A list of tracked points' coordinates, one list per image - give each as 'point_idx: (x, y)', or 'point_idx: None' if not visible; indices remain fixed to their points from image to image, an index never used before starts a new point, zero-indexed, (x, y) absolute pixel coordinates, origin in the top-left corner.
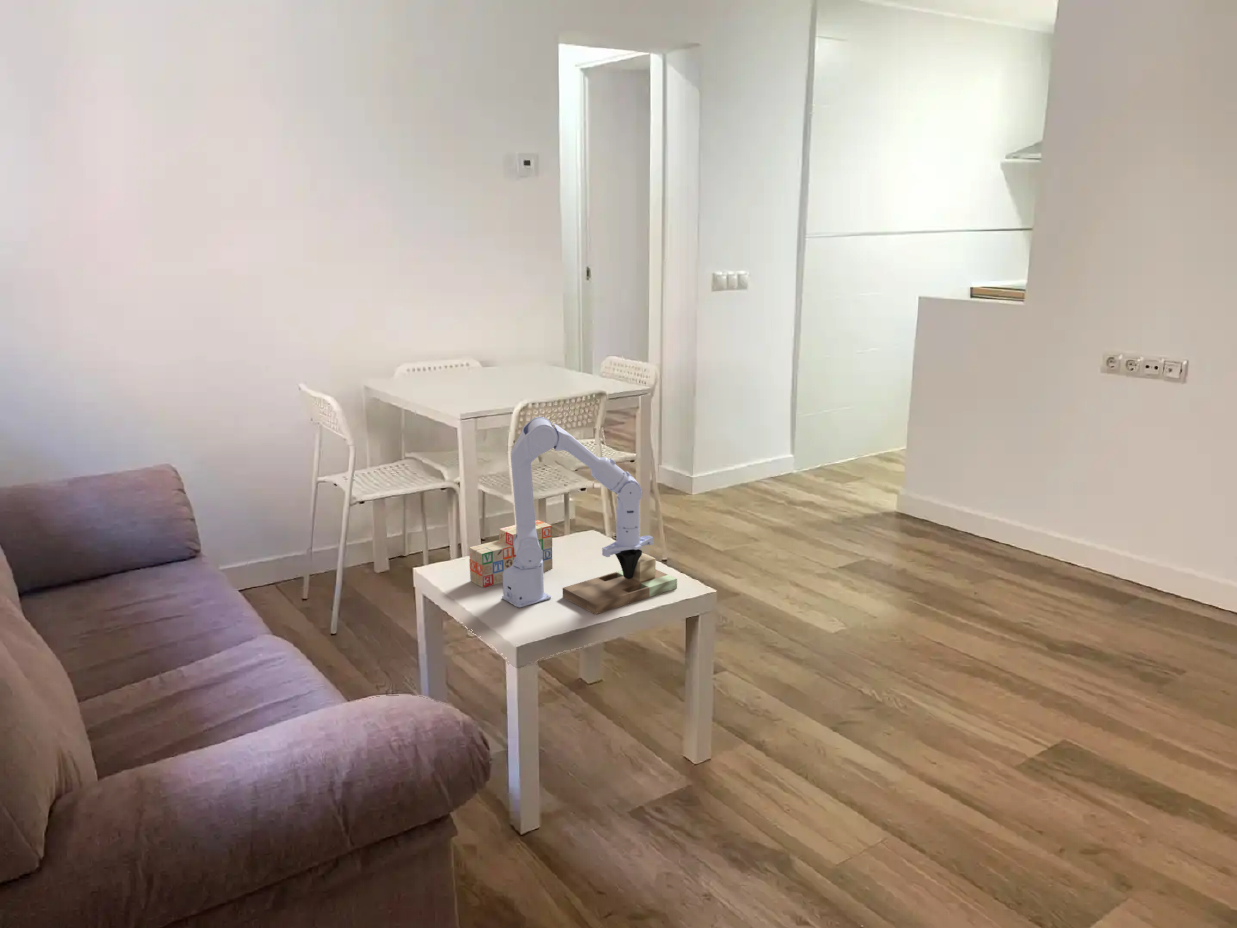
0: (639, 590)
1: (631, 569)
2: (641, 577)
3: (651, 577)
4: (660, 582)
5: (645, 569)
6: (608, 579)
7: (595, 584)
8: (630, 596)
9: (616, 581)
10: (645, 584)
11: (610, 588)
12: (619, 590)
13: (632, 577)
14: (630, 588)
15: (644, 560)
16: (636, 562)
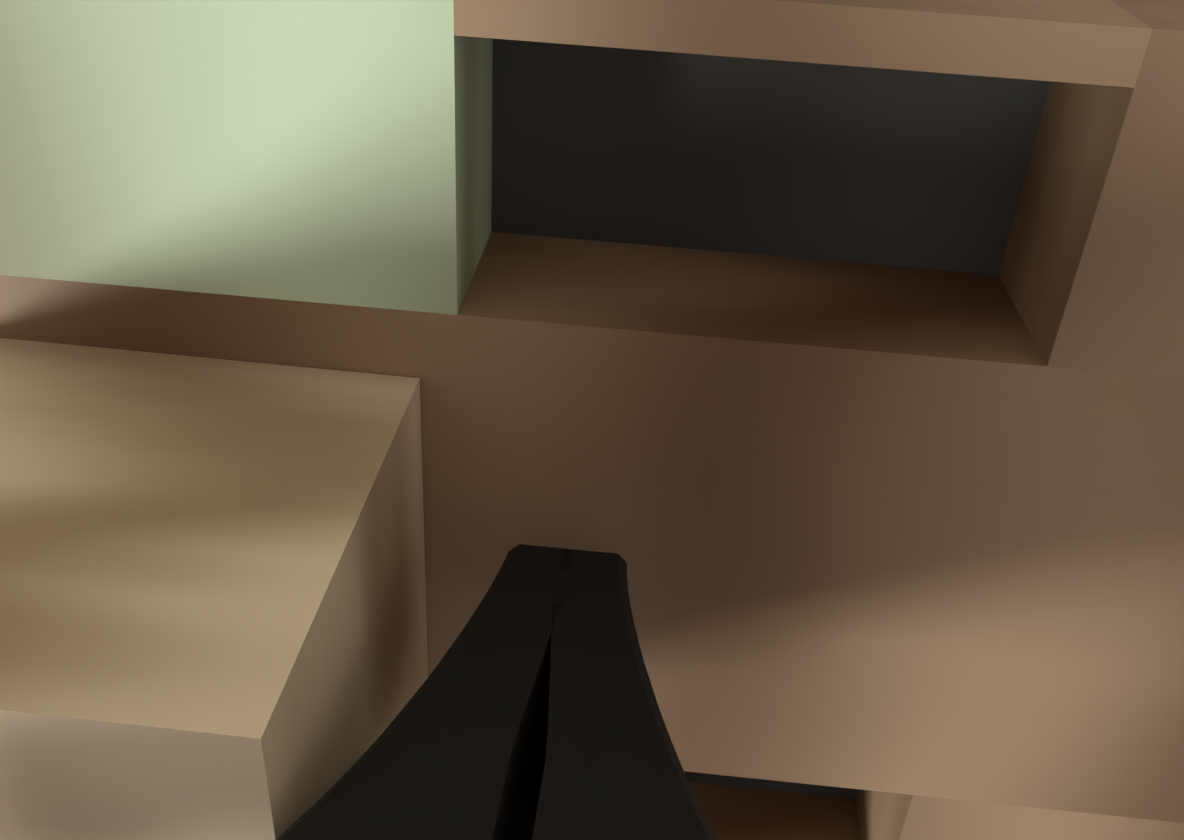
0: (811, 6)
1: (562, 696)
2: (348, 425)
3: (70, 355)
4: (11, 17)
5: (146, 522)
6: None
7: (1145, 815)
8: (1113, 8)
9: (767, 680)
10: (413, 189)
11: (1161, 544)
12: (1143, 350)
13: (518, 551)
14: (771, 318)
15: (12, 764)
16: (352, 812)
